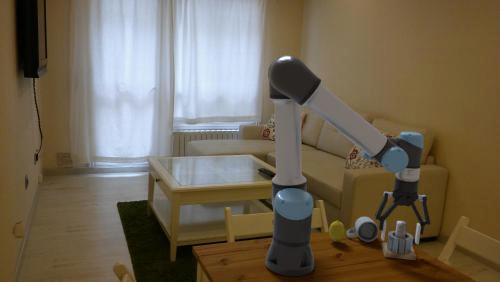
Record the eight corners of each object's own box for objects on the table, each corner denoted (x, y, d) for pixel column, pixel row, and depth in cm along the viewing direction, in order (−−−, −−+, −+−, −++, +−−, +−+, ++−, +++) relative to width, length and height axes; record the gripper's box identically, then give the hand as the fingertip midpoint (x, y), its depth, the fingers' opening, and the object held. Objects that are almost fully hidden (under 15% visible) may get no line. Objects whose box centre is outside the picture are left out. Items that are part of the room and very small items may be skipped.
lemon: (324, 241, 166) (326, 219, 164) (334, 237, 170) (336, 216, 168) (337, 246, 162) (339, 224, 160) (346, 242, 166) (348, 221, 164)
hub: (388, 252, 155) (390, 238, 154) (385, 243, 163) (386, 229, 162) (413, 255, 154) (415, 241, 153) (409, 245, 162) (410, 232, 161)
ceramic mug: (372, 233, 175) (374, 214, 174) (378, 242, 167) (379, 222, 166) (344, 232, 175) (345, 213, 174) (348, 241, 167) (350, 221, 166)
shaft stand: (384, 256, 155) (388, 225, 153) (381, 246, 164) (384, 216, 162) (415, 260, 154) (419, 229, 152) (410, 249, 162) (414, 219, 160)
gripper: (372, 178, 152) (366, 241, 156) (446, 184, 148) (437, 249, 153) (370, 172, 159) (364, 233, 163) (440, 178, 156) (432, 240, 160)
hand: (399, 240), depth 158 cm, fingers open, 10 cm apart
